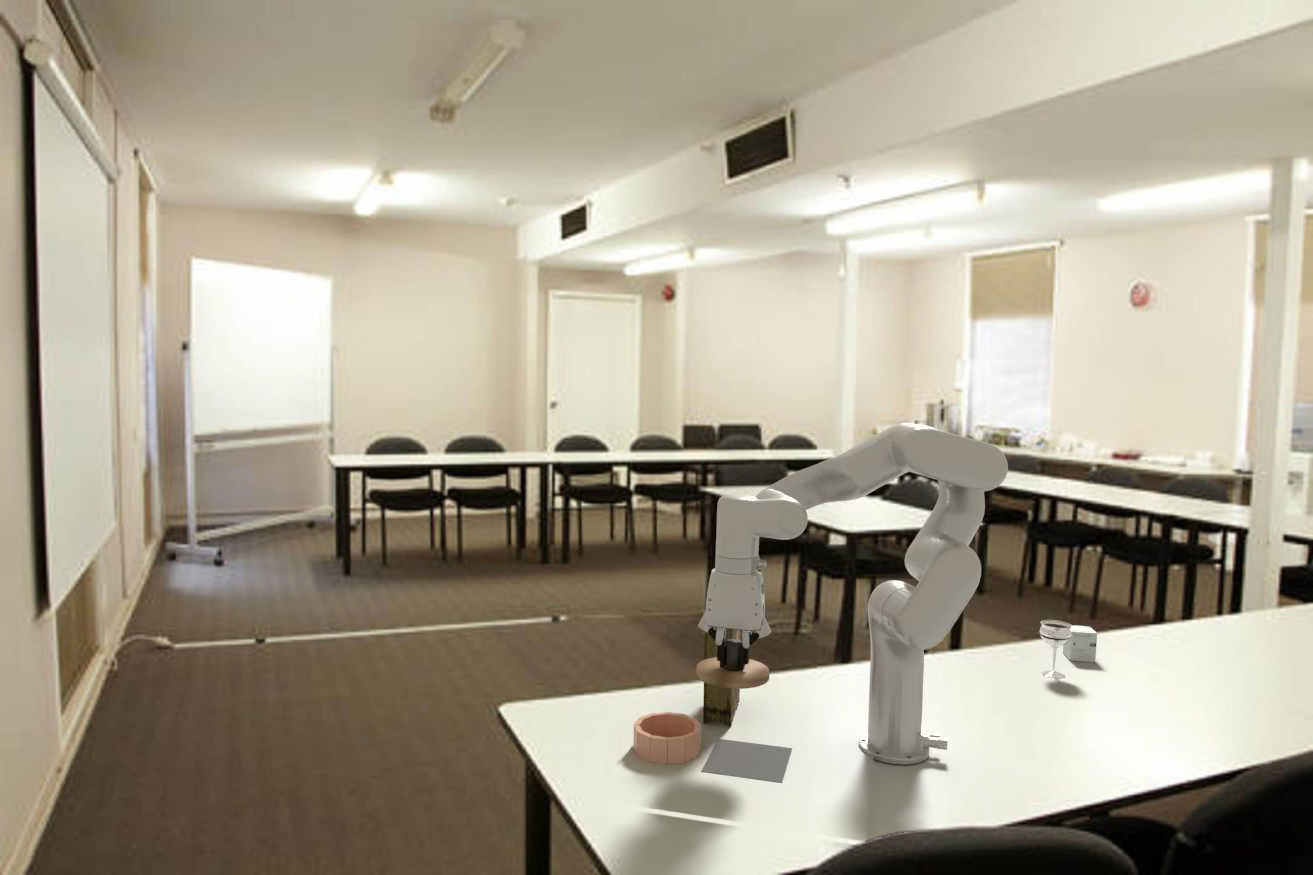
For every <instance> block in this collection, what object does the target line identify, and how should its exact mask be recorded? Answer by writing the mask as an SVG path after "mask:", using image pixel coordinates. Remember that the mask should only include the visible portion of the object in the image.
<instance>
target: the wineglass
mask: <svg viewBox="0 0 1313 875" xmlns="http://www.w3.org/2000/svg"><path fill="white" fill-rule="evenodd" d="M1039 622H1040V625H1041V626H1040V629H1039V635H1040V639H1042V640H1043V642H1045V643H1046V644H1047V645H1050V647H1051V648H1052V670H1044V671H1042V672H1041V675H1042V676H1045V677H1047V678H1052V679H1064V678H1065V677H1066V676H1065V674H1064V673H1061V672H1059V671H1055V668H1056V657H1057V649H1059V647H1063V645H1065V644H1066V643H1068V642H1069V641H1070V639H1071V635H1072V633H1071V630H1070V628H1071V627H1072V624H1071V623H1069V622H1066V621H1062V620H1058V619H1056V620H1055V619H1045V620H1041V621H1039Z"/></svg>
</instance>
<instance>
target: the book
mask: <svg viewBox="0 0 1313 875" xmlns="http://www.w3.org/2000/svg"><path fill="white" fill-rule="evenodd" d="M704 609H705V610H704V612H705V611H706V603H705V607H704ZM741 638H742V630H733V629H726V633H725V639H726V640H728V639H738V640H741V641H742V639H741ZM717 646H718V645H717V644H716V642H715V640H714V639H713V638H712V637H711V636H710V635H709V633H707V632H705V631H704V655H703V656H704V658H703V660H705V659H709V658H714V657H717ZM740 694H741V693H740V689H731V688H723V687H717V686H713V685H710V684H707V683H705V682H703V706H702V707H703V709H702V710H703V711H702V712H703V716H702V718H703V720H702V721H703V722H702V723H703V725H706V724H709V723H710V724H711V723H715V724H716V723H718V724H723V725H725V726H726V725H727V726H729V727H732V726H733V722H734V718H735V714H736V712H737V710H738V706H739V704H738V703H740Z"/></svg>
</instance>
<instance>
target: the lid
mask: <svg viewBox="0 0 1313 875" xmlns="http://www.w3.org/2000/svg"><path fill="white" fill-rule="evenodd" d="M742 642H743V641H742V639H741V640H738V639H728V640H726V654H725V666H724V667H723V668H720V661H717V657H714V658H709V659H705V660H704V659H703V660H701V661H699V662H698V663H697V664H696V669H695V675H696V677H697V678H698V679H699V680H700V682H701V681H702V682H703V683H704V682H705V683H707V684H710V685H713V686H717V687H723V688H731V689H741V690H742V689H752V688H758V687H760V686H763V685H765V684H767V683H768V682H769V680H770V675H771V674H770V673H771V672H770V668H769V667H768V666H767V665H766V664H764V663H762V662H760V661H757V660H755V659H751V658H749V663H748V664H745V667H744V669H743V670H740V669H739V651H740V647H741V644H742Z"/></svg>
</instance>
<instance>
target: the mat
mask: <svg viewBox="0 0 1313 875" xmlns="http://www.w3.org/2000/svg"><path fill="white" fill-rule="evenodd" d="M792 751H793V747H785V746H779V745H778V746H777V745H770V744H764V743H763V744H762V743H754V742H748V741H747V742H746V741H738V740H731V739H723V738H717V739H716V742H715V744H714V745H713V747H712V749H711V752H710V753H709V755H708V757H707V759H706V761H705V763H704V765H703V767H702V769H701V771H700V772H702V773H707V774H716V775H723V776H729V777H736V778H745V779H752V780H758V781H766V782H772V783H780V784H782V783H783V781H784V778H785V774H786V771H787V768H788V764H789V760H790V758H791V754H792Z"/></svg>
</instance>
